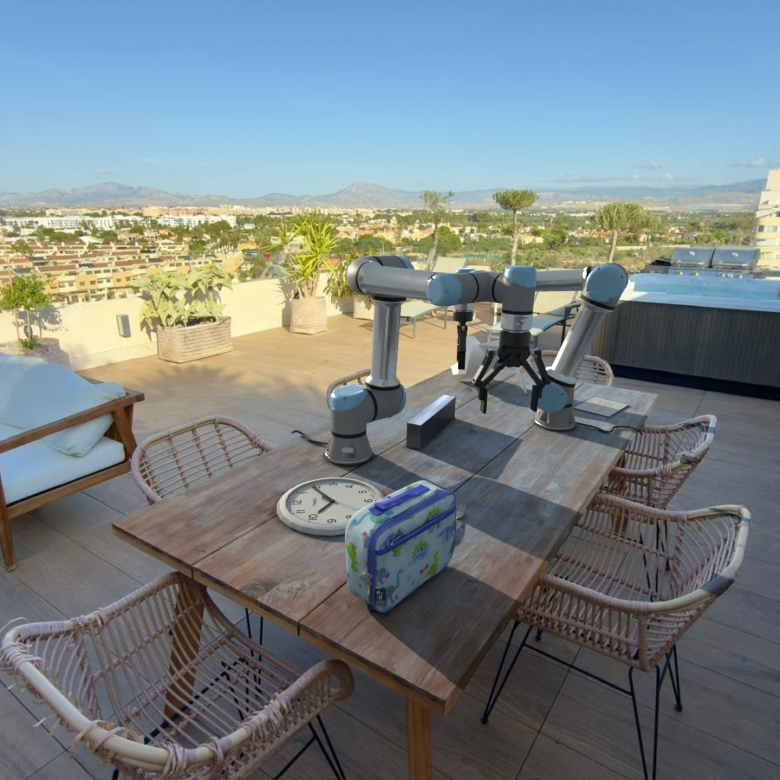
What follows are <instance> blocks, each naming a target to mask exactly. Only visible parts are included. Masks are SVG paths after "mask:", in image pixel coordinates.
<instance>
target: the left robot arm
mask: <svg viewBox="0 0 780 780" xmlns="http://www.w3.org/2000/svg"><path fill="white" fill-rule="evenodd" d="M536 271H537V268H535V267H534V266H531V265H519V264H518V265H514V264H513V265H507V266H506V267H505V269H504V271H503V272H504V273H499V272H497V271H487V270H483V269H481V270H480V269H479V270H475V271H470V272H469V273H455V272H443V271H433V270H423V269H415V267H414V265H413V264H412V262H411V260H410V259H409V258H407V256H404V255H397V254H381V255H364V256H360V257H357V258H355V259H354V260H353V261H352V262H351V263H350V264H349V265H348V267H347V270H346V275H345V277H346V282H347V285H348V287H349V288H350V290H352V291H353V292H354V293H356V294H358V295H360V296H369V299H370V301H371V302H372V303H373V304H374V305H373V323H372V341H371V356H370V357H371V359H370V374H369V375H368V376H366V377H365V385H362V384H357V383H356V384H355V383H353V384H345V385H341V386H339V387H337V388H335V389H333V391H332V392H331V394H330V398H329V399H330V401H329V402H330V403H329V408H330V411H329V412H330V436H329V440H328V441H321V440H320V441H319V440H315V439H310V438H309V437H308V435H307V434H306V433H304V432H303V431H301V430H299V429H294V430H292V431H291V432H290V433H291V434H294V433H298V434H299V435H301V436H303V437H304V438H305V440H306V441H307V442H309V443H313V444H319V445H326V449H325V459H326V460H327V461H328V462H329V463H331V464H334V465H337V466H346V467H347V466H349V467H351V466H357V465H358V466H359V465H362V464H363V465H364V464H365V463H367V462H369V461H370V460H371V459H372V457H373V451H372V447H371V444H370V441H369V438H368V434H367V427H368V426H367V424H370V423H373V422H377V421H381V420H384V419H390V418H392V417H394V416H398V415H399V414H400V413H402V411H403V410H404V409H405V406H406V403H407V392H406V391H405V390H406V389H405V387H404V386H403V384H402V383H401V380H400V378H399V377H398V375H397V370H398V356H399V355H398V354H399V344H400V328H401V315H402V306H403V305H404V304H405V303H406V302H407V299H412V300H418V301H425V302H430V303H431V304H432V305H434V306H435V307H445V308H446V307H453V306H454V305H459V304H468V303H474V304H479V303H485V302H486V303H495V304H501V316H500V328H501V329H500V331H499V339H498V340H499V348H498V350H491V349H489V348H488V349H487V350H486V354H485V358H484V359H483V361H482V363H481V365H480V367H479V368H478V370H477V372H476V374H475V375H474V377H473V379H471V382H470V383H471V384H472V385H473V386H474V387H475V388H477V400H479V401H480V407H479V411H480V412H481V413H482V414H483V415H486V414H487V410H488V395H489V389H488V388H487V386H488V385H489V384H490V383H491V382H492V381H493V380H494V379H495V378H496V377H497V375H498V374H499V373H500V372H501V371H502V370H504V369H505V368H506V367H507V368H510V369H511V368H514V367H520V368H521V367H522V368H523V369H524V370H525V372H526V373H527V374H528V375H529V377H530V379H531V378H532V379H533V381H534V382H535V383H536V385H533V384H532V386H531V393H530V394H531V395H530V404H529V405H530V406H529V410H531V411H532V412H533V413H537V410H538V399H541V397H542V389H543V388H544V387H545V385H549V384H550V383H551V381H550V379H549V376H548V373H547V371H546V366H545V363H544V360H543V358H542V357H543V351H542V350H541V349H539V348H538V347H534V348H533V349H530V347H531V340H532V332H531V330H532V328H533V318H534V303H535V296H536V292H535V290H536V286H537V284H536V273H537V272H536ZM496 355H497V356H498V357H499V359H498V360H497V361H496V363H495V365H494V366H493V367H492V368H491V369H490V370H489V371H488V373H487V374H486V375H485V373H486V371H487V369H488V367H489V366H490V364H491V362H492V359H494V358H495V356H496ZM528 357H529V358H530V357H532V358H533V361H534V363H535V367H536V368H537V371H538V374H539V375H538V374H537V372H535V370H534V368H533V367H532V368H533V369H532V368H531V366H530V364H529V363H528V362H527V359H528ZM484 375H485V376H484ZM483 376H484V377H483ZM539 376H540V377H539ZM541 378H542V380H541Z"/></svg>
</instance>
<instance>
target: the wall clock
mask: <svg viewBox="0 0 780 780" xmlns="http://www.w3.org/2000/svg"><path fill="white" fill-rule="evenodd" d="M384 497H386V495H385V494H384V493H383V492H382V491H381V490H380V489H379V488H377V487H376V486H374V485H372V484H371V483H369V482H365V481H362V480H359V479H355V478H349V477H338V476H337V477H335V476H333V477H332V476H331V477H322V478H317V479H312V480H307V481H305V482H302V483H299V484H297V485H295V486H293V487H292V488H290V489H288V490H287V491H286V492H285V493H284V494H283V495H281V496H280V498H279V499H278V502H277V503H276V515H277V517H278V518H279V520H280V521H281V522H282V523H283V524H285V525H286V526H287V527H288V528H290V529H293V530H295V531H297V532H299V533H303V534H308V535H312V536H327V537H328V536H329V537H331V536H332V537H333V536H342V535H345V531H346V527H347V524H348V522H349V520H350V518H351V517H352V515H353V514H354V513H355V512H357V511H358V510H360V509H362V508H364V507H366V506H368V505H370V504H372V503H374V502H376V501H378V500H380V499H382V498H384Z"/></svg>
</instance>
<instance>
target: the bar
mask: <svg viewBox="0 0 780 780" xmlns="http://www.w3.org/2000/svg"><path fill="white" fill-rule="evenodd" d="M456 399H457V397H456V396H454V395H447V394H442V395H441V396H440V397H439V398H437V399H436V400H434V401H433V402H432V403H430V405H428V406H427V407H425V408H424V409H423V410H422V411H420V412H419V413H417V415H415V416H413V417H412V418H411V419H410V420H409V421H407V422H406V439H405V440H406V442H405V444H406V445H405V447H406V448H409V449H414V450H419V451H420V450H421V449H423V448H424V447H425V446H426V445H427V444H428V443H429V442H430V441H432V440H433V438H434V437H436V436H437V435H438V434H439V433H440V432H441V431H442V430H444V429H445V428H446V426H448V425H449V424H450V423H452V421H453V420H454V419H455V418H456V402H457V401H456Z"/></svg>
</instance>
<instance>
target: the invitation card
mask: <svg viewBox="0 0 780 780" xmlns="http://www.w3.org/2000/svg"><path fill="white" fill-rule="evenodd" d="M628 406H629V404H627V403H623V402H618V401H614V400H609V399H605V398H601V397H596V396H593V397H592V398H590V399H588V400H586V401H584V402H582V403H580V404H578V405H575V406H574V407H573V409H575V410H581V411H584V412H587V413H593V414H596V415H600V416H604V417H608V418H609V417H611V416H613V415H614V414H616V413H617V412H619V411H621V410H623V409H624V408H626V407H628Z"/></svg>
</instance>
